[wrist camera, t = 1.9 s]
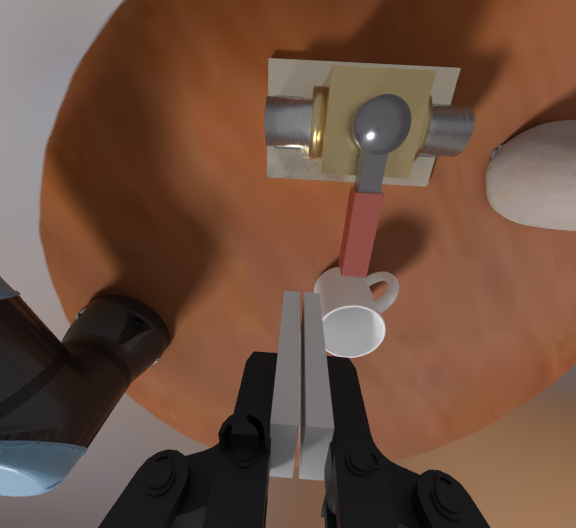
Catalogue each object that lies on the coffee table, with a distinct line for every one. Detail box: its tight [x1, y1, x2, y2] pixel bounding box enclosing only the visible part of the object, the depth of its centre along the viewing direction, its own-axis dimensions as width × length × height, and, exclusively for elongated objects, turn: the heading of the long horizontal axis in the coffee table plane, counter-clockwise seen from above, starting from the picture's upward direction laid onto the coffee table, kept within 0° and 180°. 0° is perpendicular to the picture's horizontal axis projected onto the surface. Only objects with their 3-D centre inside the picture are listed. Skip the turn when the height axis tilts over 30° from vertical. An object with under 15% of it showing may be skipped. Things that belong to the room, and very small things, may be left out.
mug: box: [314, 267, 399, 358], centre depth 36 cm, size 12×8×10 cm
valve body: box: [265, 58, 475, 187], centre depth 26 cm, size 20×12×10 cm, turn 87°
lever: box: [339, 94, 411, 277], centre depth 23 cm, size 15×4×3 cm, turn 177°
